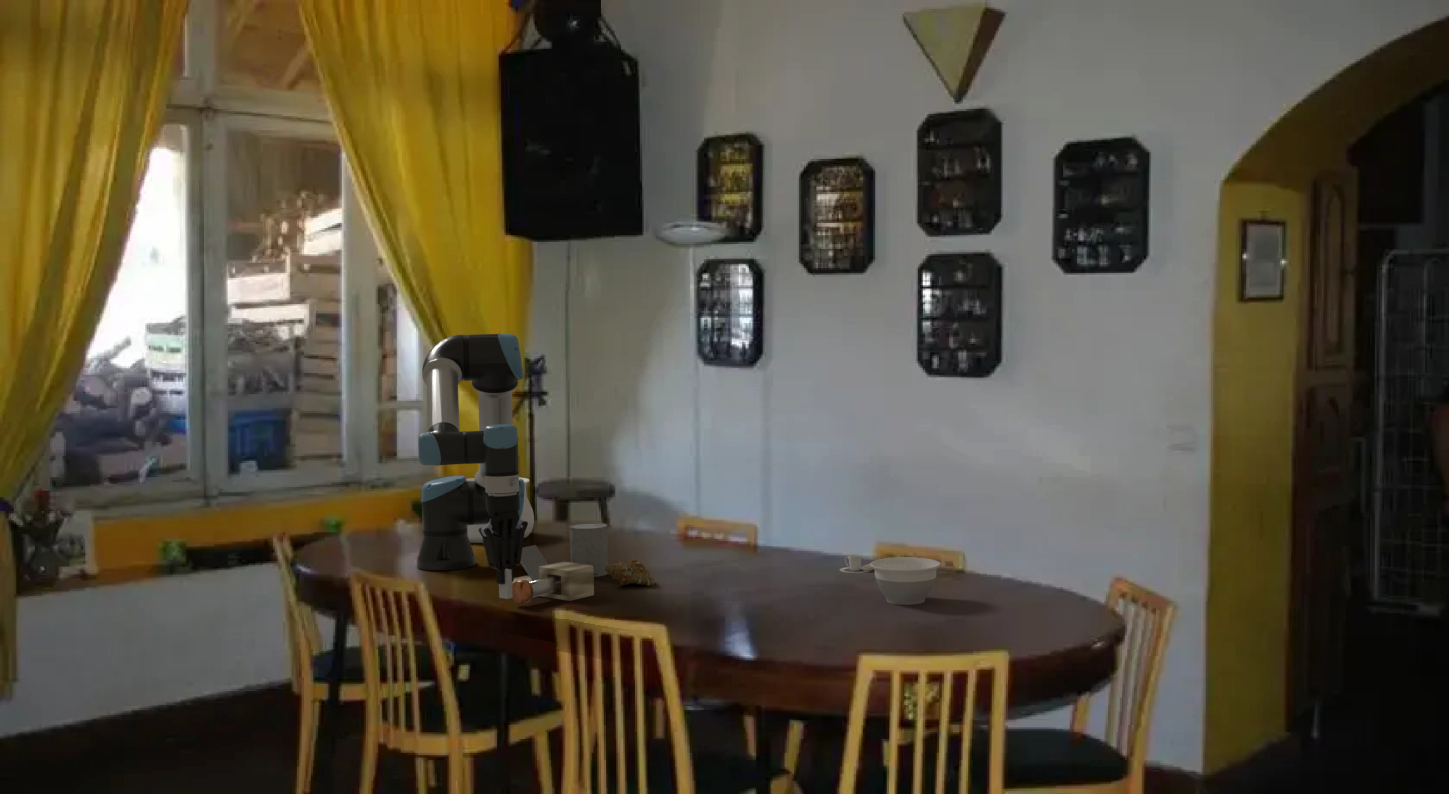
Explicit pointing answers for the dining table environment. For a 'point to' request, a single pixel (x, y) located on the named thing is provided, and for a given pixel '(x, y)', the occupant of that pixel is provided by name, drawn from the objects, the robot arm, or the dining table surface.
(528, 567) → the latch flap
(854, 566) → the teacup and saucer
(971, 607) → the dining table surface
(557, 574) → the block
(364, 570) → the dining table surface
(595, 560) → the grey stone cylinder
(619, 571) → the seashell
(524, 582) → the pin
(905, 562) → the bowl
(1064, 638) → the dining table surface
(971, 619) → the dining table surface
